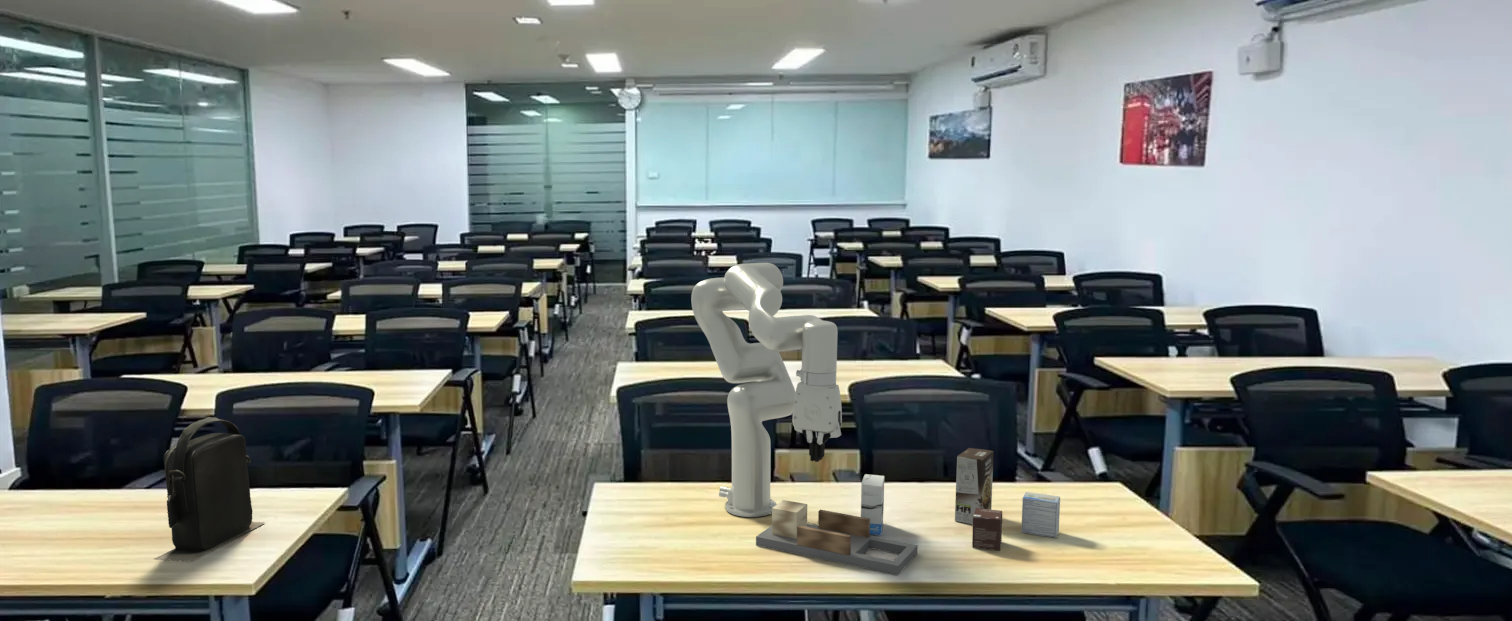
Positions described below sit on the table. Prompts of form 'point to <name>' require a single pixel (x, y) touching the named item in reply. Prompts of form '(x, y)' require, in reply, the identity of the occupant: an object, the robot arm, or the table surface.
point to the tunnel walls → (833, 539)
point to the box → (987, 529)
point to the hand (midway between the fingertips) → (816, 459)
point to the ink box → (873, 501)
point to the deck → (857, 550)
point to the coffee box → (973, 483)
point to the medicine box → (1040, 514)
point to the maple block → (788, 518)
